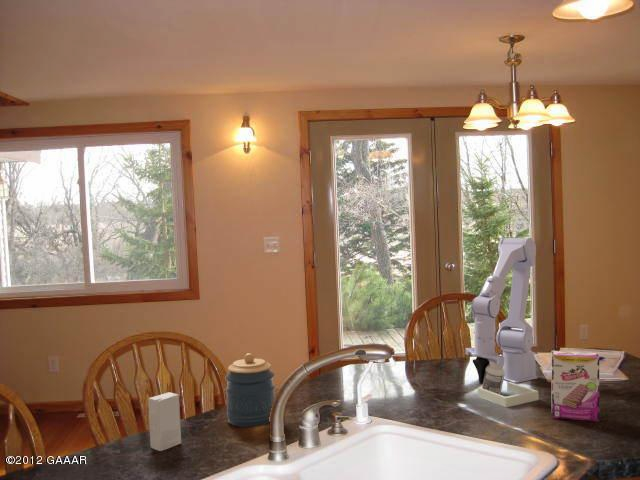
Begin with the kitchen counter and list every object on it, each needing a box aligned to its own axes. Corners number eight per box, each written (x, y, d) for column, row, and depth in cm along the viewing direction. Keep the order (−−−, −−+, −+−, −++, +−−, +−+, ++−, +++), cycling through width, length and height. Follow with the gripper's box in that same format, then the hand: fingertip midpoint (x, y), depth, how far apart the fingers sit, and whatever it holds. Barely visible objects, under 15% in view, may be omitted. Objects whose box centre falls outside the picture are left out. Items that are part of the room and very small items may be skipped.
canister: (236, 431, 152) (233, 361, 151) (220, 417, 163) (217, 352, 163) (284, 421, 158) (281, 354, 157) (265, 408, 169) (262, 345, 169)
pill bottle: (486, 384, 180) (492, 354, 177) (503, 392, 176) (509, 361, 174) (478, 391, 176) (484, 360, 173) (495, 398, 172) (502, 367, 170)
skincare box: (171, 440, 148) (168, 391, 147) (182, 444, 145) (180, 394, 144) (149, 448, 143) (146, 397, 142) (160, 452, 140) (158, 400, 139)
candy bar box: (552, 419, 153) (550, 354, 152) (551, 412, 158) (550, 350, 157) (600, 422, 149) (599, 356, 149) (598, 416, 154) (597, 352, 153)
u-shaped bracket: (509, 390, 178) (509, 381, 178) (538, 400, 168) (538, 391, 168) (477, 397, 173) (477, 388, 173) (505, 407, 163) (505, 398, 163)
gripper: (457, 334, 182) (457, 379, 182) (491, 343, 169) (490, 391, 169) (476, 332, 185) (475, 377, 185) (510, 341, 172) (509, 388, 172)
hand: (484, 383), depth 177 cm, fingers closed, pressing on pill bottle
